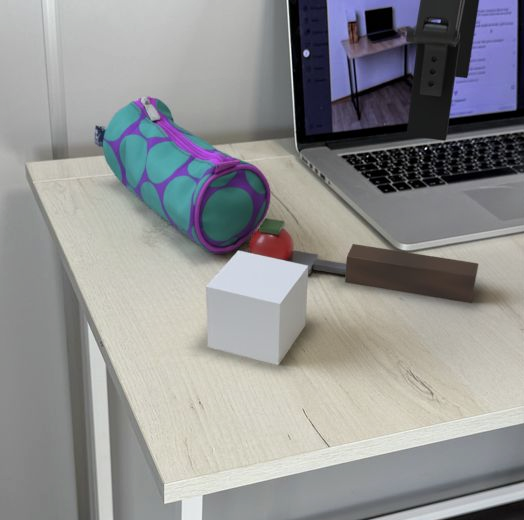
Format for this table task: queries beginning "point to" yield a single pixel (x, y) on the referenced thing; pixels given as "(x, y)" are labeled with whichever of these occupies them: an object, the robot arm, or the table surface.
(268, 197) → the pencil case
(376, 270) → the brown handled tool
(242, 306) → the white cube
